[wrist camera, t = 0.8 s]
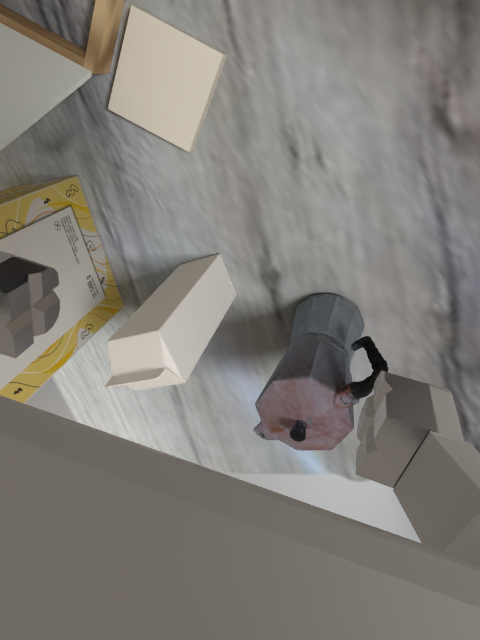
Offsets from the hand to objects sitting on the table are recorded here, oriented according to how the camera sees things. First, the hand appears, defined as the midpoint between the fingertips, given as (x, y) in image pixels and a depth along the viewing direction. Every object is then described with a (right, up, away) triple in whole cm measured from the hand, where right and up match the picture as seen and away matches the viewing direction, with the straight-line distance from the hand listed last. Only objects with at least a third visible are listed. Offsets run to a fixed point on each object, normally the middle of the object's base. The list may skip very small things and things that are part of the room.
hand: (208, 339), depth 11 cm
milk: (-3, +6, +46) cm, 47 cm away
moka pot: (+12, +1, +45) cm, 46 cm away
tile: (-7, +26, +35) cm, 44 cm away
